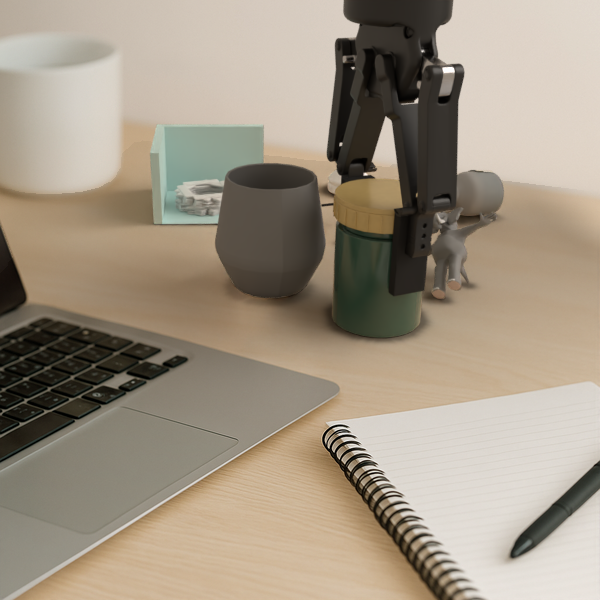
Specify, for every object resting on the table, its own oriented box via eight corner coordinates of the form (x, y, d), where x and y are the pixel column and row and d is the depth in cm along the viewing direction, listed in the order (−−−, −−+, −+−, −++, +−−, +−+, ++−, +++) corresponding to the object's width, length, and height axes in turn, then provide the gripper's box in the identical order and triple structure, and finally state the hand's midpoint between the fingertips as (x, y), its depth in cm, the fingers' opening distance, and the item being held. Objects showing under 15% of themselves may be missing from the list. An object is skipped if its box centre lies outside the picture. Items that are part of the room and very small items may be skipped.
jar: (410, 297, 71) (420, 190, 67) (428, 337, 65) (440, 221, 60) (327, 298, 70) (332, 190, 66) (336, 338, 64) (342, 221, 60)
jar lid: (438, 206, 66) (440, 183, 65) (426, 240, 60) (428, 215, 59) (345, 196, 68) (346, 174, 67) (322, 227, 61) (323, 203, 60)
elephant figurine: (378, 295, 72) (387, 227, 78) (421, 334, 74) (427, 265, 80) (475, 244, 66) (476, 175, 72) (517, 288, 68) (515, 218, 75)
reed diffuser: (522, 163, 86) (358, 165, 77) (526, 229, 86) (363, 239, 77) (460, 176, 95) (307, 180, 86) (464, 236, 96) (312, 246, 86)
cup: (209, 268, 76) (206, 162, 71) (308, 261, 78) (311, 157, 73) (226, 314, 67) (224, 196, 63) (336, 304, 69) (342, 190, 65)
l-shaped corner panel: (153, 224, 86) (149, 153, 82) (160, 188, 96) (156, 124, 93) (269, 222, 87) (270, 152, 84) (262, 187, 98) (263, 124, 94)
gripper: (287, -48, 63) (283, 234, 73) (439, -27, 46) (407, 335, 56) (373, -48, 66) (358, 223, 75) (545, -28, 49) (496, 316, 59)
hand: (378, 271), depth 66 cm, fingers closed on jar lid, 7 cm apart
